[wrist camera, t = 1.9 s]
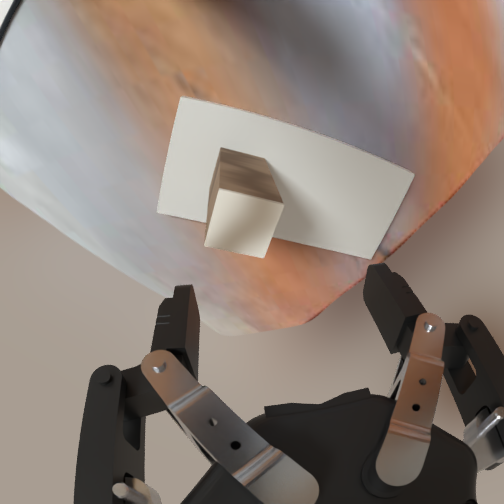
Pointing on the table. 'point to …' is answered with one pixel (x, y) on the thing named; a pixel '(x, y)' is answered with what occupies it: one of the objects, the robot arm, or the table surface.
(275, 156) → the white board
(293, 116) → the table surface
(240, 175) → the walnut block
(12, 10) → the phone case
